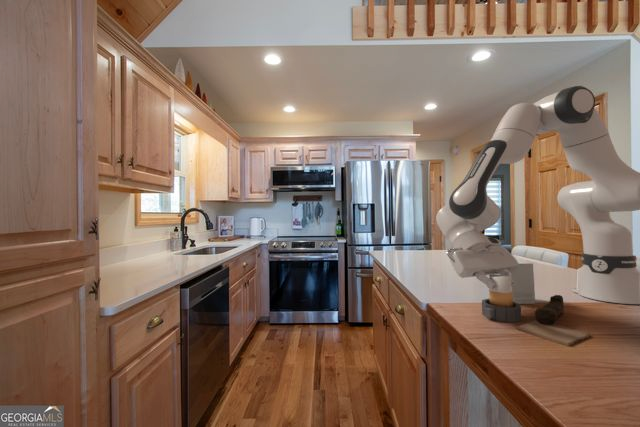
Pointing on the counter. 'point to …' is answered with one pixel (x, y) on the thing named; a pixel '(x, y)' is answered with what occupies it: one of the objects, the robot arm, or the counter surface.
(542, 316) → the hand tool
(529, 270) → the supplement box
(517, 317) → the collar
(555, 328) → the walnut board
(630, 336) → the counter surface
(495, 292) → the two-tone cylinder
